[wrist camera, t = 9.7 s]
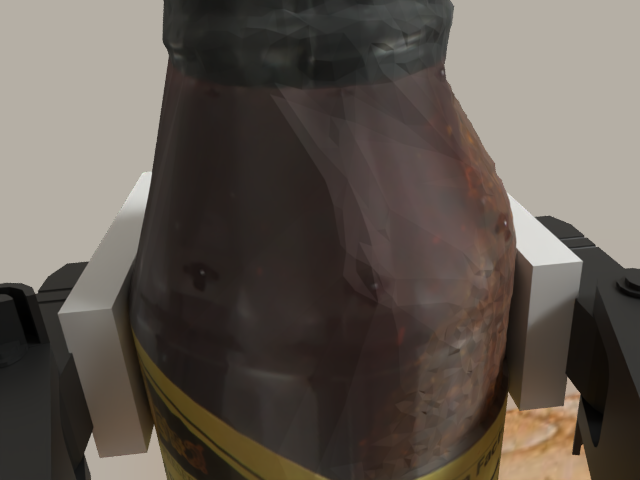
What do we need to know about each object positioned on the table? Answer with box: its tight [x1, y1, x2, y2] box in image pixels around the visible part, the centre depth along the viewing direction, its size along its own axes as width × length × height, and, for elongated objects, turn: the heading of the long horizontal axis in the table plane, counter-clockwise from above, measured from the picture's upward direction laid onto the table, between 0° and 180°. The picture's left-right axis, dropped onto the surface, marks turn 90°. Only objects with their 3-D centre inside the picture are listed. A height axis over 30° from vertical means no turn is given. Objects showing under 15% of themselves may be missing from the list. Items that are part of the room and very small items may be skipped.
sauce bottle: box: [128, 0, 517, 480], centre depth 11 cm, size 7×6×20 cm
